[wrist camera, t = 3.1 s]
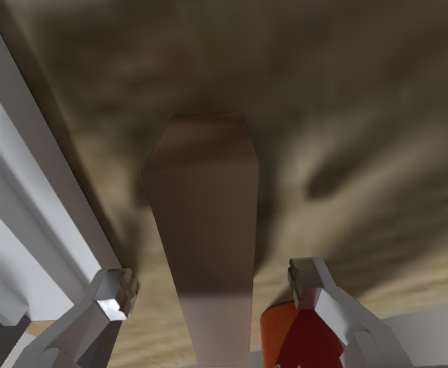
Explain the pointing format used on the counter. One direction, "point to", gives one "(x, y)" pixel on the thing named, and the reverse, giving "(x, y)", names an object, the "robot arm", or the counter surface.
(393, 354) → the robot arm
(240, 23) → the counter surface
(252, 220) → the slat
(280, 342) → the coffee cup
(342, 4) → the counter surface
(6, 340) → the endcap frame
